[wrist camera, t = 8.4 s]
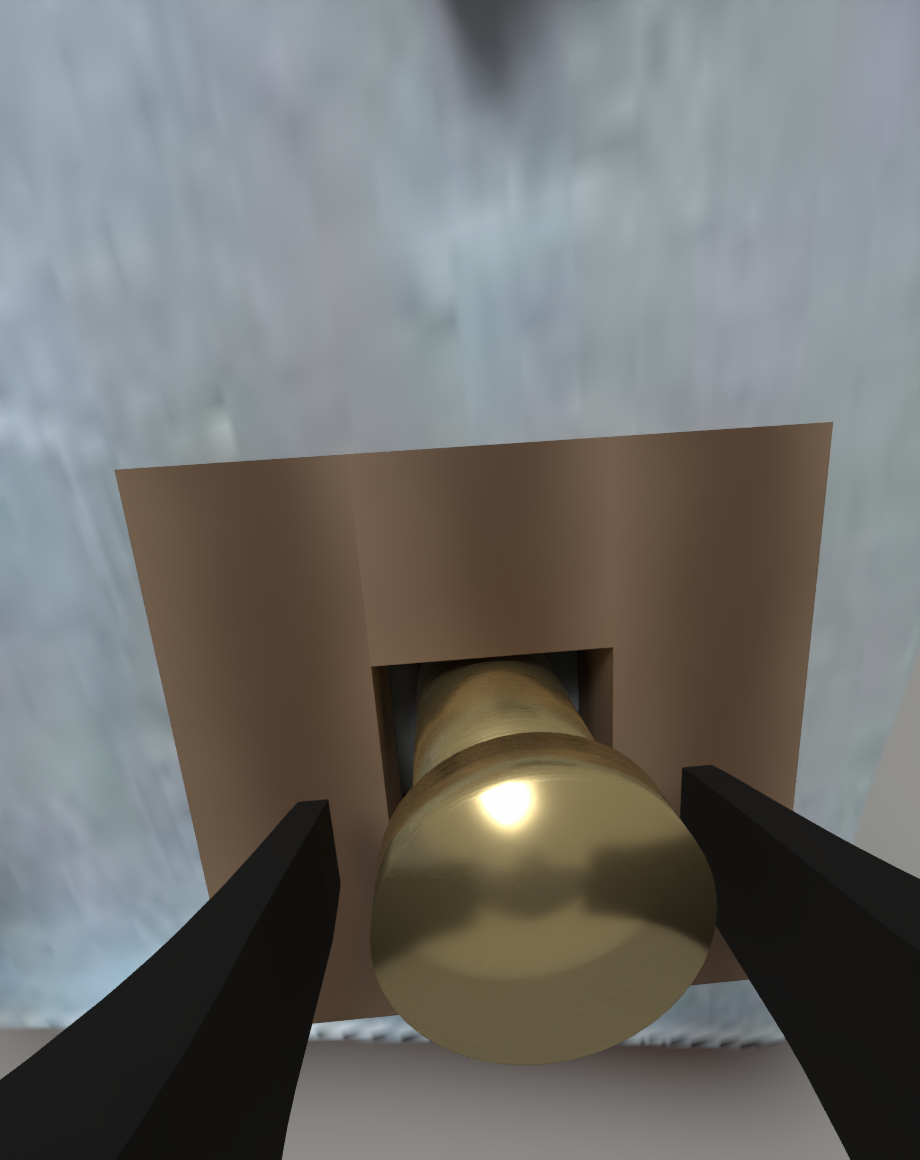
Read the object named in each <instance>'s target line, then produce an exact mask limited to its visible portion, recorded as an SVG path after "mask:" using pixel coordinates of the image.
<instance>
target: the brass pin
mask: <svg viewBox="0 0 920 1160" xmlns="http://www.w3.org/2000/svg"><path fill="white" fill-rule="evenodd" d="M716 917H717V896H716V888H715V884H714V879H713V875H712V872H711V869H710V867H709V864H708V862H707V859H706V857H705V855H704V854H703V852H702V850H701V849H700V847H699V845H698V844H697V842H696V840H695V839H694V837H693V836H692V835H691V833H690V832H689V830H688V829H687V828H686V826H685V825H684V823H683V822H682V820H681V819H680V818H679V816H678V815H677V813H676V812H675V810H674V809H673V808H672V806H671V805H670V803H669V802H668V800H667V799H666V798H665V796H664V795H663V793H662V792H661V791H660V789H659V788H658V786H657V785H656V784H655V783H654V781H653V780H652V779H651V778H650V777H649V775H648V774H647V773H646V772H645V771H644V770H643V769H641V768H640V767H639V766H638V765H637V764H636V763H635V762H633V761H632V760H631V759H629V758H628V757H626V756H625V755H623V754H622V753H620V752H618V751H617V750H615V749H613V748H611V747H608V746H606V745H604V744H602V743H600V742H597V741H595V740H594V738H593V737H592V735H591V733H590V732H589V730H588V728H587V727H586V725H585V723H584V722H583V720H582V718H581V717H580V715H579V713H578V711H577V710H576V708H575V706H574V705H573V703H572V701H571V700H570V698H569V696H568V695H567V693H566V691H565V690H564V688H563V686H562V685H561V683H560V681H559V679H558V678H557V676H556V674H555V673H554V671H553V669H552V668H551V666H550V664H549V663H548V661H547V659H546V658H545V656H544V654H543V653H534V654H522V655H509V656H496V657H484V658H471V659H459V660H446V661H434V662H423V663H422V666H421V669H420V672H419V676H418V685H417V705H416V726H415V748H414V769H413V787H412V788H411V789H410V790H409V792H408V793H407V794H406V795H405V797H404V798H403V799H402V801H401V802H400V803H399V805H398V806H397V808H396V810H395V812H394V813H393V815H392V817H391V819H390V821H389V823H388V826H387V828H386V831H385V833H384V836H383V839H382V844H381V848H380V852H379V859H378V867H377V875H376V883H375V891H374V899H373V907H372V916H371V926H370V950H371V959H372V963H373V967H374V971H375V974H376V977H377V980H378V982H379V984H380V986H381V988H382V991H383V993H384V994H385V996H386V997H387V999H388V1001H389V1002H390V1004H391V1005H392V1007H393V1008H394V1009H395V1010H396V1011H397V1013H398V1014H399V1015H400V1016H401V1017H402V1018H403V1019H404V1020H405V1021H406V1022H407V1023H408V1024H409V1025H410V1026H411V1027H413V1028H414V1029H415V1030H416V1031H417V1032H419V1033H420V1034H421V1035H423V1036H424V1037H426V1038H428V1039H429V1040H431V1041H432V1042H434V1043H436V1044H437V1045H439V1046H441V1047H444V1048H446V1049H448V1050H450V1051H452V1052H454V1053H457V1054H461V1055H463V1056H467V1057H470V1058H473V1059H477V1060H482V1061H487V1062H491V1063H499V1064H509V1065H540V1064H550V1063H558V1062H562V1061H568V1060H573V1059H577V1058H581V1057H584V1056H587V1055H591V1054H594V1053H597V1052H600V1051H602V1050H605V1049H607V1048H609V1047H612V1046H614V1045H617V1044H619V1043H621V1042H622V1041H624V1040H626V1039H628V1038H630V1037H632V1036H634V1035H635V1034H637V1033H638V1032H640V1031H642V1030H643V1029H645V1028H646V1027H648V1026H649V1025H651V1024H652V1023H653V1022H654V1021H656V1020H657V1019H658V1018H659V1017H660V1016H662V1015H663V1014H664V1013H665V1012H666V1011H668V1010H669V1009H670V1008H671V1007H672V1006H673V1005H674V1003H675V1002H676V1001H677V1000H678V999H679V998H680V997H681V996H682V995H683V994H684V992H685V991H686V990H687V988H688V987H689V986H690V985H691V983H692V982H693V981H694V979H695V977H696V976H697V974H698V972H699V970H700V969H701V967H702V965H703V963H704V961H705V959H706V956H707V954H708V951H709V949H710V947H711V943H712V939H713V935H714V931H715V926H716Z"/></svg>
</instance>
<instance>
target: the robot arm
mask: <svg viewBox="0 0 920 1160" xmlns="http://www.w3.org/2000/svg"><path fill="white" fill-rule="evenodd" d="M680 819H681V820H682V822H683V823H684V825H685V826H686V828H687V829H688V830H689V832H690V833H691V835H692V836H693V837H694V839H695V840H696V842H697V844H698V845H699V847H700V849H701V850H702V852H703V854H704V855H705V857H706V859H707V862H708V864H709V867H710V869H711V872H712V875H713V879H714V884H715V888H716V896H717V917H716V927H717V928H718V930H719V932H720V933H721V935H722V936H723V938H724V940H725V941H726V943H727V945H728V946H729V948H730V949H731V951H732V953H733V954H734V956H735V958H736V959H737V961H738V962H739V964H740V966H741V967H742V969H743V970H744V972H745V974H746V975H747V977H748V978H749V980H750V982H751V983H752V985H753V986H754V988H755V990H756V991H757V993H758V994H759V996H760V998H761V999H762V1001H763V1003H764V1004H765V1006H766V1007H767V1009H768V1011H769V1012H770V1014H771V1015H772V1017H773V1019H774V1020H775V1022H776V1023H777V1025H778V1027H779V1028H780V1030H781V1031H782V1033H783V1035H784V1036H785V1038H786V1040H787V1042H788V1043H789V1045H790V1047H791V1048H792V1050H793V1052H794V1054H795V1055H796V1057H797V1059H798V1061H799V1062H800V1064H801V1066H802V1068H803V1069H804V1071H805V1073H806V1075H807V1077H808V1079H809V1081H810V1083H811V1085H812V1087H813V1088H814V1090H815V1092H816V1094H817V1096H818V1098H819V1100H820V1102H821V1104H822V1106H823V1108H824V1110H825V1111H826V1113H827V1115H828V1117H829V1119H830V1121H831V1123H832V1125H833V1126H834V1129H835V1130H836V1132H837V1134H838V1136H839V1138H840V1140H841V1142H842V1144H843V1146H844V1148H845V1150H846V1152H847V1154H848V1156H849V1157H850V1160H920V879H919V878H917V877H915V876H913V875H910V874H909V873H906V872H904V871H902V870H900V869H898V868H896V867H894V866H892V865H891V864H888V863H887V862H885V861H883V860H881V859H879V858H877V857H875V856H873V855H871V854H870V853H868V852H866V851H864V850H862V849H860V848H858V847H856V846H854V845H852V844H850V843H849V842H847V841H845V840H843V839H841V838H840V837H838V836H836V835H834V834H832V833H830V832H829V831H827V830H825V829H823V828H822V827H820V826H818V825H816V824H814V823H813V822H811V821H809V820H807V819H806V818H804V817H802V816H800V815H799V814H797V813H795V812H794V811H792V810H790V809H788V808H787V807H785V806H783V805H782V804H780V803H778V802H776V801H775V800H773V799H771V798H770V797H768V796H766V795H764V794H763V793H761V792H759V791H758V790H756V789H754V788H753V787H751V786H749V785H747V784H746V783H744V782H742V781H740V780H739V779H737V778H735V777H734V776H732V775H730V774H728V773H726V772H725V771H723V770H721V769H719V768H717V767H715V766H713V765H703V766H691V767H682V781H681V804H680ZM340 887H341V882H340V875H339V868H338V861H337V855H336V848H335V841H334V834H333V827H332V820H331V813H330V807H329V800H328V799H324V800H313V801H302V802H297V803H296V804H295V806H294V807H293V808H292V809H291V810H290V811H289V812H288V813H287V814H286V815H285V817H284V818H283V819H282V820H281V821H280V822H279V823H278V825H277V826H276V827H275V828H274V829H273V830H272V831H271V833H270V834H269V835H268V836H267V837H266V838H265V840H264V841H263V842H262V843H261V844H260V845H259V846H258V847H257V849H256V850H255V851H254V852H253V853H252V854H251V855H250V857H249V858H248V859H247V860H246V861H245V862H244V863H243V864H242V865H241V866H240V868H239V869H238V870H237V871H236V872H235V873H234V874H233V875H232V876H231V877H230V879H229V880H228V881H227V882H226V883H225V884H224V885H223V886H222V887H221V888H220V889H219V890H218V892H217V893H216V894H215V895H214V896H213V897H212V898H211V899H210V900H209V901H208V902H207V903H206V904H205V905H204V906H203V907H202V908H201V909H200V910H199V911H198V912H197V913H196V914H195V915H194V916H193V917H192V918H191V919H190V920H189V921H188V922H187V923H186V924H185V925H184V926H183V927H182V928H181V929H180V930H179V931H178V932H177V933H176V934H175V935H174V936H173V937H172V938H171V939H170V940H169V941H168V942H167V943H166V944H164V945H163V946H162V947H161V948H160V949H159V950H158V951H157V952H156V953H155V954H154V955H153V956H152V957H150V958H149V959H148V960H147V961H146V962H145V963H144V964H143V965H141V966H140V967H139V968H138V969H137V970H136V971H135V972H134V973H132V974H131V975H130V976H129V977H128V978H127V979H126V980H124V981H123V982H122V983H121V984H120V985H119V986H118V987H117V988H115V989H114V990H113V991H112V992H111V993H109V994H108V995H107V996H106V997H105V998H104V999H102V1000H101V1001H100V1002H99V1003H97V1004H96V1005H95V1006H94V1007H92V1008H91V1009H90V1010H89V1011H87V1012H86V1013H85V1014H84V1015H82V1016H81V1017H80V1018H79V1019H77V1020H76V1021H75V1022H74V1023H72V1024H71V1025H70V1026H69V1027H67V1028H66V1029H65V1030H64V1031H63V1032H61V1033H60V1034H59V1035H58V1036H57V1037H55V1038H54V1039H53V1040H51V1041H50V1042H49V1043H48V1044H46V1045H45V1046H44V1047H43V1048H41V1049H40V1050H39V1051H38V1052H36V1053H35V1054H34V1055H33V1056H31V1057H30V1058H29V1059H27V1060H26V1061H25V1062H23V1063H22V1064H21V1065H20V1066H18V1067H17V1068H16V1069H14V1070H13V1071H12V1072H10V1073H9V1074H7V1075H6V1076H5V1077H3V1078H2V1079H1V1080H0V1160H282V1154H283V1148H284V1143H285V1137H286V1132H287V1126H288V1122H289V1117H290V1112H291V1108H292V1103H293V1099H294V1094H295V1090H296V1086H297V1081H298V1078H299V1073H300V1070H301V1066H302V1062H303V1058H304V1054H305V1050H306V1046H307V1042H308V1038H309V1034H310V1030H311V1026H312V1022H313V1019H314V1015H315V1011H316V1007H317V1003H318V999H319V995H320V991H321V987H322V983H323V979H324V975H325V971H326V967H327V963H328V959H329V955H330V951H331V946H332V942H333V936H334V930H335V923H336V917H337V909H338V902H339V894H340Z"/></svg>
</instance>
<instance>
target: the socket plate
mask: <svg viewBox="0 0 920 1160" xmlns="http://www.w3.org/2000/svg"><path fill="white" fill-rule="evenodd" d="M832 428H833V422H827V423H812V424H797V425H782V426H767V427H752V428H737V429H722V430H707V431H692V432H677V433H662V434H647V435H632V436H617V437H602V438H587V439H572V440H557V441H542V442H527V443H512V444H497V445H482V446H467V447H452V448H437V449H422V450H407V451H391V452H377V453H361V454H346V455H331V456H316V457H301V458H286V459H271V460H256V461H241V462H226V463H211V464H196V465H181V466H166V467H151V468H136V469H121V470H115V474H116V478H117V483H118V487H119V492H120V496H121V501H122V506H123V510H124V515H125V519H126V524H127V528H128V533H129V537H130V542H131V546H132V551H133V555H134V560H135V564H136V569H137V573H138V578H139V582H140V587H141V591H142V596H143V600H144V605H145V609H146V614H147V618H148V623H149V627H150V632H151V636H152V641H153V646H154V650H155V655H156V659H157V664H158V668H159V673H160V677H161V682H162V686H163V691H164V695H165V700H166V704H167V709H168V713H169V718H170V722H171V727H172V731H173V736H174V740H175V745H176V749H177V754H178V758H179V763H180V767H181V772H182V776H183V781H184V785H185V790H186V795H187V799H188V804H189V808H190V813H191V817H192V822H193V826H194V831H195V835H196V840H197V844H198V849H199V853H200V858H201V862H202V867H203V871H204V876H205V880H206V885H207V889H208V894H209V898H210V899H211V898H212V897H213V896H214V895H215V894H216V893H217V892H218V890H219V889H220V888H221V887H222V886H223V885H224V884H225V883H226V882H227V881H228V880H229V879H230V877H231V876H232V875H233V874H234V873H235V872H236V871H237V870H238V869H239V868H240V866H241V865H242V864H243V863H244V862H245V861H246V860H247V859H248V858H249V857H250V855H251V854H252V853H253V852H254V851H255V850H256V849H257V847H258V846H259V845H260V844H261V843H262V842H263V841H264V840H265V838H266V837H267V836H268V835H269V834H270V833H271V831H272V830H273V829H274V828H275V827H276V826H277V825H278V823H279V822H280V821H281V820H282V819H283V818H284V817H285V815H286V814H287V813H288V812H289V811H290V810H291V809H292V808H293V807H294V806H295V804H296V803H297V802H302V801H313V800H324V799H328V800H329V807H330V813H331V820H332V827H333V834H334V841H335V848H336V855H337V861H338V868H339V875H340V882H341V887H340V894H339V902H338V909H337V917H336V923H335V930H334V936H333V942H332V946H331V951H330V955H329V959H328V963H327V967H326V971H325V975H324V979H323V983H322V987H321V991H320V995H319V999H318V1003H317V1007H316V1011H315V1015H314V1019H313V1022H312V1024H313V1023H323V1022H333V1021H343V1020H353V1019H363V1018H373V1017H382V1016H392V1015H399V1014H398V1013H397V1011H396V1010H395V1009H394V1008H393V1007H392V1005H391V1004H390V1002H389V1001H388V999H387V997H386V996H385V994H384V993H383V991H382V988H381V986H380V984H379V982H378V980H377V977H376V974H375V971H374V967H373V963H372V959H371V950H370V926H371V916H372V907H373V899H374V891H375V883H376V875H377V867H378V859H379V852H380V848H381V844H382V839H383V836H384V833H385V831H386V828H387V826H388V823H389V821H390V819H391V817H392V815H393V813H394V812H395V810H396V808H397V806H398V805H399V803H400V802H401V801H402V799H403V798H404V797H405V795H402V787H401V778H400V769H399V759H398V750H397V740H396V731H395V721H394V712H393V703H392V693H391V684H390V674H389V665H396V664H409V663H421V662H434V661H446V660H459V659H471V658H484V657H496V656H509V655H522V654H534V653H547V652H559V651H572V650H578V687H579V715H580V717H581V718H582V720H583V722H584V723H585V725H586V727H587V728H588V730H589V732H590V733H591V735H592V737H593V738H594V740H595V741H597V742H600V743H602V744H604V745H606V746H608V747H611V748H613V749H615V750H617V751H618V752H620V753H622V754H623V755H625V756H626V757H628V758H629V759H631V760H632V761H633V762H635V763H636V764H637V765H638V766H639V767H640V768H641V769H643V770H644V771H645V772H646V773H647V774H648V775H649V777H650V778H651V779H652V780H653V781H654V783H655V784H656V785H657V786H658V788H659V789H660V791H661V792H662V793H663V795H664V796H665V798H666V799H667V800H668V802H669V803H670V805H671V806H672V808H673V809H674V810H675V812H676V813H677V815H678V816H679V818H680V804H681V781H682V767H691V766H703V765H713V766H715V767H717V768H719V769H721V770H723V771H725V772H726V773H728V774H730V775H732V776H734V777H735V778H737V779H739V780H740V781H742V782H744V783H746V784H747V785H749V786H751V787H753V788H754V789H756V790H758V791H759V792H761V793H763V794H764V795H766V796H768V797H770V798H771V799H773V800H775V801H776V802H778V803H780V804H782V805H783V806H785V807H787V808H788V809H790V810H792V811H793V804H794V794H795V785H796V775H797V765H798V756H799V746H800V736H801V727H802V717H803V708H804V698H805V688H806V679H807V669H808V659H809V650H810V640H811V630H812V621H813V611H814V601H815V592H816V582H817V572H818V563H819V553H820V543H821V534H822V524H823V514H824V505H825V495H826V485H827V476H828V466H829V457H830V447H831V437H832ZM748 979H749V978H748V977H747V975H746V974H745V972H744V970H743V969H742V967H741V966H740V964H739V962H738V961H737V959H736V958H735V956H734V954H733V953H732V951H731V949H730V948H729V946H728V945H727V943H726V941H725V940H724V938H723V936H722V935H721V933H720V932H719V930H718V928H717V927H716V926H715V931H714V935H713V939H712V943H711V947H710V949H709V951H708V954H707V956H706V959H705V961H704V963H703V965H702V967H701V969H700V970H699V972H698V974H697V976H696V977H695V979H694V981H693V982H692V983H691V985H698V984H708V983H718V982H728V981H738V980H748Z"/></svg>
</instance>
